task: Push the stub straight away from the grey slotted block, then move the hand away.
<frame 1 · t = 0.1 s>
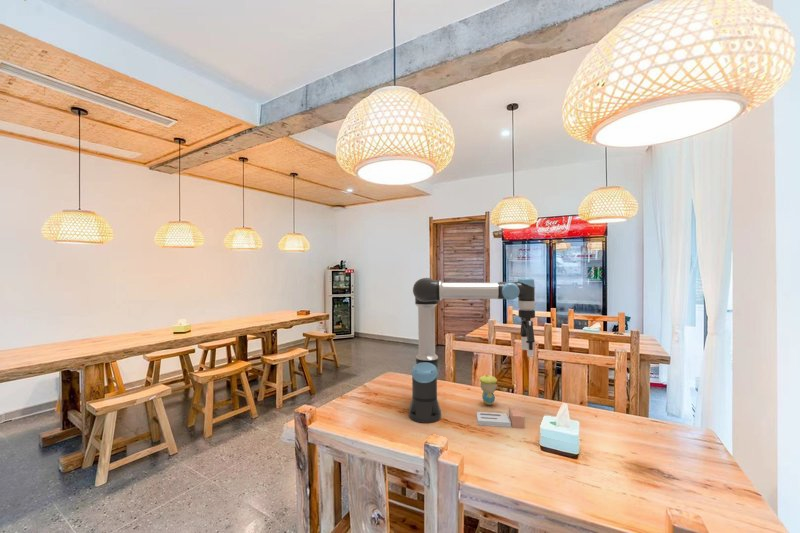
hand: (527, 353, 155), 28 cm above the table, fingers open, 13 cm apart
stub: (516, 417, 142), point 3 cm above the table, slide at 0.0 cm
toy: (488, 404, 162), on the table
grey slotted block: (493, 421, 143), on the table
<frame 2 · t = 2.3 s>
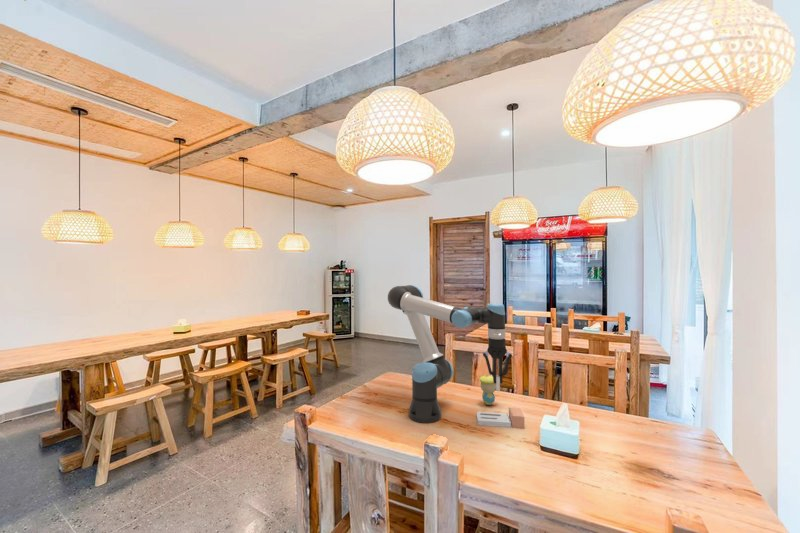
hand: (497, 390, 143), 14 cm above the table, fingers closed
nothing on the table moved.
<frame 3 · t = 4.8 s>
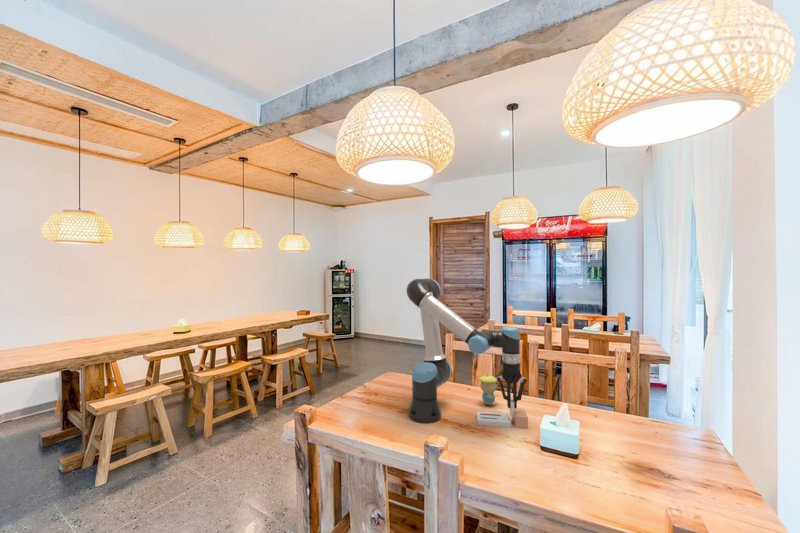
hand: (512, 415, 142), 3 cm above the table, fingers closed
stub: (519, 417, 142), point 3 cm above the table, slide at 1.5 cm, touching gripper
everything else where it was.
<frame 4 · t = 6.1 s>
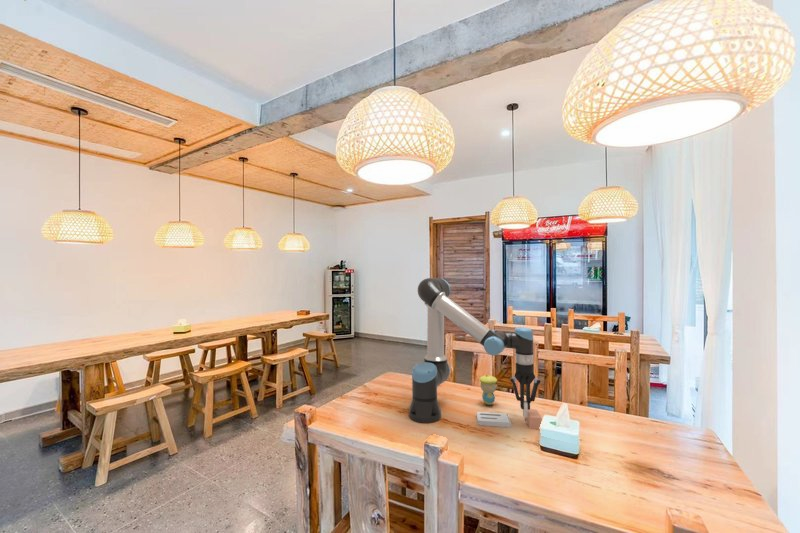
hand: (525, 416, 141), 3 cm above the table, fingers closed
stub: (533, 418, 141), point 3 cm above the table, slide at 7.1 cm, touching gripper
everything else where it was.
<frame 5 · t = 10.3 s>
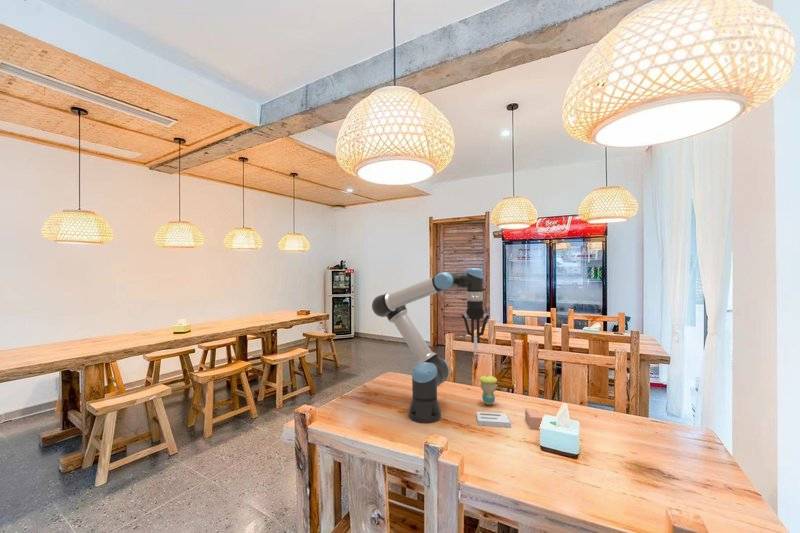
hand: (475, 349, 152), 30 cm above the table, fingers closed
stub: (533, 418, 141), point 3 cm above the table, slide at 7.2 cm
everything else where it was.
at the end: stub slide at 7.2 cm; stub touching nothing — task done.
